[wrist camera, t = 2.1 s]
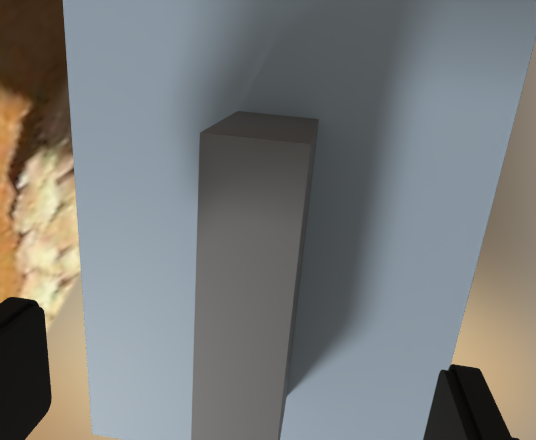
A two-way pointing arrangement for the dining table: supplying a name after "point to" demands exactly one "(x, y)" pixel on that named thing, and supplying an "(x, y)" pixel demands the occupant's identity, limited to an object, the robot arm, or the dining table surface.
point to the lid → (283, 206)
